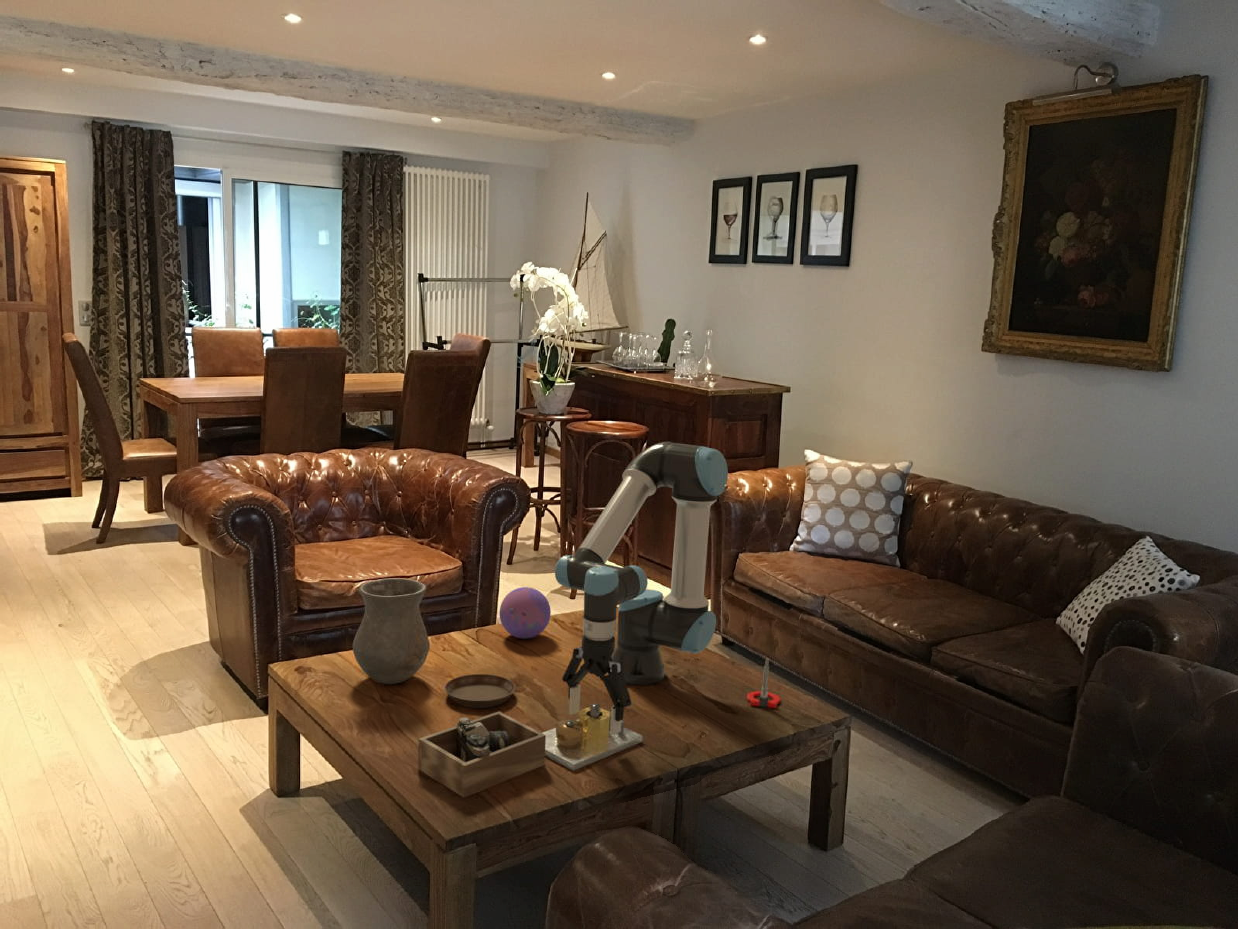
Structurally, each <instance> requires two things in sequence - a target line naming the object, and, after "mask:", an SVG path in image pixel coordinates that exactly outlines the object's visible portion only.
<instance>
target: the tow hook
mask: <svg viewBox="0 0 1238 929" xmlns="http://www.w3.org/2000/svg"><path fill="white" fill-rule="evenodd" d="M769 660H770V659H769V658H768V657H766V658H765V663H764V664H765V665H764V666H763V675H762V676H763V678H762V686H761V687H760V688H761V689H760V690H761V691H757V690H756V691H751V692H749V693H747V694H746V696H747V697H746V698H747V701H749V702H750V706H752V707H759V708H768V709H769V708H770V709H777V705H778V704H780V702H781V698H780V697H779V696H778V695H776V694H775V693H773V692H769V687H768V683H769V682H768V681H769V669H770V666H769ZM755 697H759V699H757V698H755ZM769 698H770V699H772V700H769Z"/></svg>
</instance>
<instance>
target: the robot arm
mask: <svg viewBox="0 0 1238 929" xmlns="http://www.w3.org/2000/svg"><path fill="white" fill-rule="evenodd" d="M728 470H729V469H728V464H727V461H726V458H725V457H724V455H723V454H722V453H721V451H719V450H718V449H716V448H710V447H707V446H703V445H702V446H701V445H694V444H686V443H678V442H673V441H663V442H659V443H655V444H653V445H651V446H648V447H647V448H646V449H644V450H643V451H641V452H640V453H638V454H637V456H636V457H634V458H633V459H632V460H631V461H630V463H629V464H628V465H627V467H626V468H625V470H624V471H623V473H622V476H621V477H622V478H621V479H622V481H621V483H620V485H619V486H618V487H617V488H616V491H615V492H614V494H613V495H612V497H611V498H610V500H609V501H608V503H607V505H606V506H605V507H604V509H603V510H602V512H601V514H600V516H599V517H598V518H597V520H596V521H595V523H594V524H593V526H592V527H591V528H590V530H589V532H588V533H587V535H586V537H585V538H584V540H583V541H582V543H581V544H580V546H579V547H578V549H576V551H575V553H574V555H572V554H570V555H567V554H566V555H563V556H562V557H560V558H559V559H558V560H557V562H556V564H555V567H554V568H555V569H554V578H555V579H556V582H557V583H558V584H559V585H561V586H563V587H566V588H569V589H572V590H577V591H582V592H584V594H583V620H582V636H581V646H579V647H576V648H573V651H572V656H571V659H570V661H569V663H568V665H567V668H566V669H565V672H564V673H563V675H562V678H561V679H562V682H563V683H566V684H567V687H568V700H569V706H568V707H569V708H568V715H570V716H572V715H576V714H579V710H581V708H580V706H581V691H582V690H581V686H582V685H580V683H581V682H582V680H583V679H584V678H585V677H586V676H587V674H588V673H589V674H590V675H594V676H596V677H598V678H599V680H600V681H601V682H603V684H604V687H605V689H606V690H607V693H608V695H609V697H610V699H611V702H612V704H613V706H611V708H610V710H611V711H610V712H611V724H610V734H612V735H613V734H616V733H618V732H621V720H623V721H624V714H625V713H624V711H625V708H626V707H629V706H631V705H632V700H631V696H630V693H629V689H628V685H627V684H629V685H636V686H638V685H640V686H641V685H642V686H643V685H652V684H657V683H659V682H661V681H662V680H664V678H665V671H666V670H665V668H666V667H665V664H664V663H663V658H662V653H661V650H660V649H661V648H660V646H663V647H667V648H670V649H673V650H677V651H680V652H682V653H690V654H696V655H697V654H700V653H702V652H704V650H706V648H707V647H708V646H709V645H710V642H711V641H712V639H713V636H714V634H715V629H716V626H717V617H716V614H715V613H714V612H713V611H711V610H709V604H710V603H709V601H710V600H708V598H707V597H706V596H705V595H704V593H705V591H704V590H705V579H706V569H707V567H706V566H707V557H708V556H707V555H708V554H707V553H708V540H709V539H708V538H709V529H710V516H711V506H712V505H713V504H714V503H716V502H717V500H718V496H720V495H722V494H723V493H724V491H725V490H726V485H727V483H728V477H729V474H728V473H729V471H728ZM661 487H666V488H671V498H672V500H674V502H675V503H676V513H675V525H674V528H675V529H674V541H673V543H674V544H673V554H672V555H673V557H672V569H671V583H670V584H671V585H670V592H669V593H668V594H667V595H666V596H665V597H664V596H663V592H661V591H659V590H654V589H648V577H647V574H646V572H645V571H644V570H643V568H641V567H640V566H638V565H633V564H632V565H625V566H624V567H619V566H615V565H611V564H607V561H608V560H609V559H610V557H611V555H612V554H613V552H614V550H615V548H616V547H617V546H618V544H619V542H620V541H621V540H622V538H623V536H624V534H625V533H626V531H627V530H628V528H629V527H630V525H631V523H633V520H634V519H635V517H636V516H637V514H638V512H640V510H641V508H642V506H643V504H644V503H645V501H646V499H647V498H648V497H650V496H652V495H654V494H655V493H656V491H657V490H658V489H659V488H661ZM617 612H618V613H617ZM617 614H618V616H617ZM616 619H617V620H616ZM616 623H617V624H616ZM616 628H617V633H616ZM616 634H617V636H616ZM615 636H616V637H615ZM616 638H617V639H616ZM615 644H616V647H615ZM582 661H584V662H583V664H582V665H581V663H582ZM580 665H581V666H580Z"/></svg>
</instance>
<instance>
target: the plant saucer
mask: <svg viewBox="0 0 1238 929" xmlns="http://www.w3.org/2000/svg"><path fill="white" fill-rule="evenodd" d="M444 691H445V692H446V695H447V696H448V697H449V699H451V700H452V701H453V702H454V703H455V704H458V705H460V706H463V707H466V708H467V707H468V708H475V709H484V708H492V707H496V706H500V705H502V704H504V703H505V702H506V701H508V700H509V699H510V698H511V696H512V695H513V693H514V692H515V691H516V685H515V683H514V682H513V681H512V680H510V679H508V678H506V677H503V676H500V675H497V674H496V675H495V674H488V673H487V674H486V673H477V674H474V673H473V674H466V675H461V676H457V677H454V678H452V679H450V680H449V681H446V683H445V685H444Z"/></svg>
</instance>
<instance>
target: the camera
mask: <svg viewBox="0 0 1238 929" xmlns="http://www.w3.org/2000/svg"><path fill="white" fill-rule="evenodd" d="M470 721H471V720H470V719H469V717H466V716H465V717H461V718H460V719H459V720H458V723H457V724H456V726H457V755H458V757H457V758H459V759H460V760H462V761H464V762H468V761H471V760H474V759H476V758H479V757H482V756H485V755H488V754H490V753H492V752H495V751H498V750H500V749H503V748H506V747H508V746H511V742H510V738H509V735H508V734H507V732H506V731H494V732H493V731H489V732H488V731H487V729H486V728H485V727H484V726H483V724H482V723H480V722H478V723H475V724H473V722H470Z"/></svg>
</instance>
